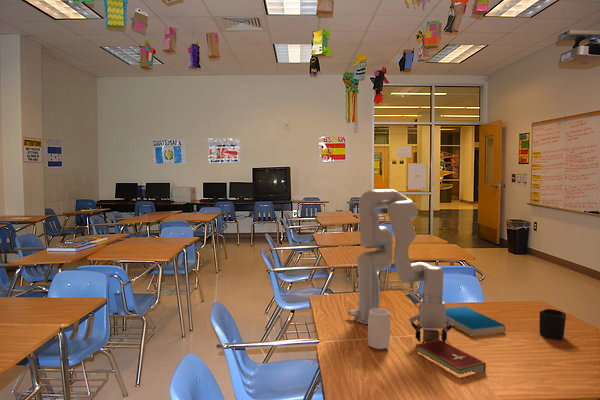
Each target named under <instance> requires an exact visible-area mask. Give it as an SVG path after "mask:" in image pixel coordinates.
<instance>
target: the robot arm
mask: <svg viewBox="0 0 600 400" xmlns="http://www.w3.org/2000/svg"><path fill="white" fill-rule="evenodd" d="M377 209H387V210H386V211H387V216H388V219H389V223H390V226H391V229H392V232H393V234H392V232H391V230H390V229H389V228H388V227H386V226H383V225H380V216H379V214H378V212H377ZM358 210H359V231H360V232H359V235H360V236H359V238H360V244H361V246H362V247H363V248H365V249H375V250H369V251H365V252H364V251H363V252H362V253H361V254H360V255H358V257H357V260H356V266H357V271H358V303H357V304H358V306H357V307H356V309H355V310H351V309H350V310H347V315H350V317H354V321H355V320H356V321H357V323H358V322H360V323H359V324H361V323H363V324H362V325H365V324H368V317H369V311H370V310H371V309H374V308H380V305H381V304H380V300H381V299H380V296H381V281H380V277H379V275H378V272H382V271H386V270H388V269H390V267H391V266H392V264H393V263H394V267H395V270H396V273H397V275H398V277H399V279H400V280H401V282H403V283H405V284H412V283H417V282H422V292H421V294H418V299H420V300H419V308H418V313H417V314H416V315H414V316H412V317H409V318H408V320H409V322H410V325H411V326H412V328H413V329H414V330H415V339H416V340H417V341H418V342H421V333H422V332H421V329H423V328H437V330H439V329H440V330H441V337H440V340H441V341H443V342H445V343H446V342H447V338H448V333H449V331H450V330H451V329H452V327H454V326H453V324H454V323H455V322H454V320H452V319H450V318H449V317H447V316H446V308H447V307H446V304H445V303H446V302H445V301H444V299H443V298H444V297H443V296H444V294H443V293H444V276H445V275H444V269H443V267H440V266H438V265H431V264H429V263H426V262H423V261H416V262H411V261H410V256H409V249H410V246H411V244H412V243H413V242H414V240H415V239H416V237H417V233H416V231H415V227H414V224H413V220H414V219H416V218H417V217H418V214H419V208H418V206H417V204H416V203H415V202H414V201H412V199H410V198H408V197H407V196H405V195H403V194H402V193H400V192H399V191H397V190H395V189H391V188H390V189H389V188H383V189H382V188H379V189H377V188H376V189H369V190H367V191H365V192H364V193H363V194H361V196H360V198H359V201H358ZM393 235H394V239H395V244H394V247H393V243H394V242H393ZM393 249H394V250H393ZM446 320H447V321H449V323H448V324H447V322H446ZM356 321H355V322H356ZM415 321H417V322H418V323H417V324H416V323H415Z"/></svg>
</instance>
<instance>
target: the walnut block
mask: <svg viewBox="0 0 600 400" xmlns="http://www.w3.org/2000/svg"><path fill="white" fill-rule="evenodd" d="M422 332H423V333H422V341H423V340H424V342H425V343H426V342H431V341H435V340H440V331H439V329H438V328H423V327H422Z"/></svg>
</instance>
